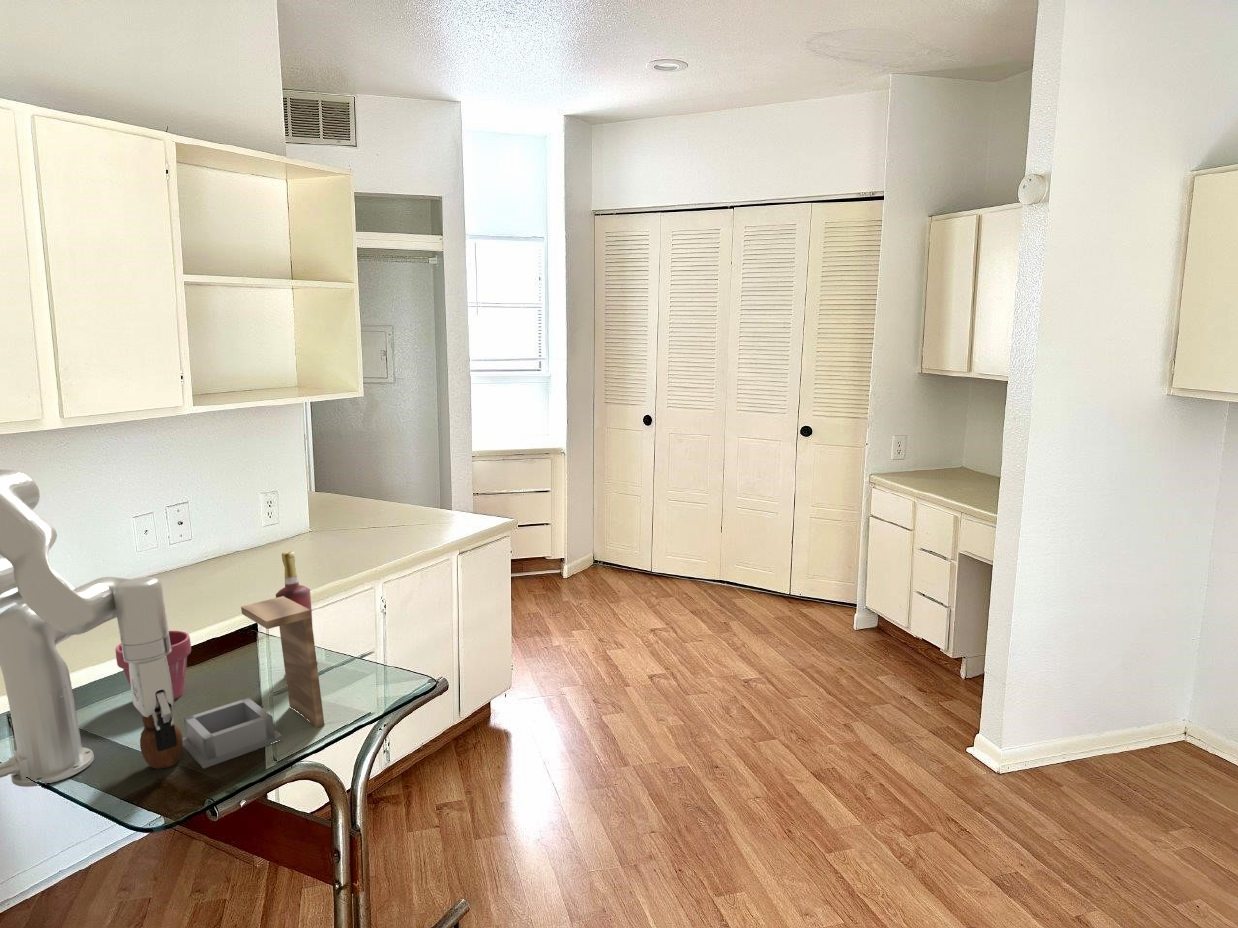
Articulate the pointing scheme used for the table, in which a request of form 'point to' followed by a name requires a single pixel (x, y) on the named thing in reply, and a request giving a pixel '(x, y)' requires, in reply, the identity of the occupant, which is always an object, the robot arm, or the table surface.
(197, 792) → the table surface
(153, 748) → the wooden figurine
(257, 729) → the socket
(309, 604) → the liquor
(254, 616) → the wooden l-shaped stand
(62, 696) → the robot arm
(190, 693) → the table surface
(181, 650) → the plant pot
